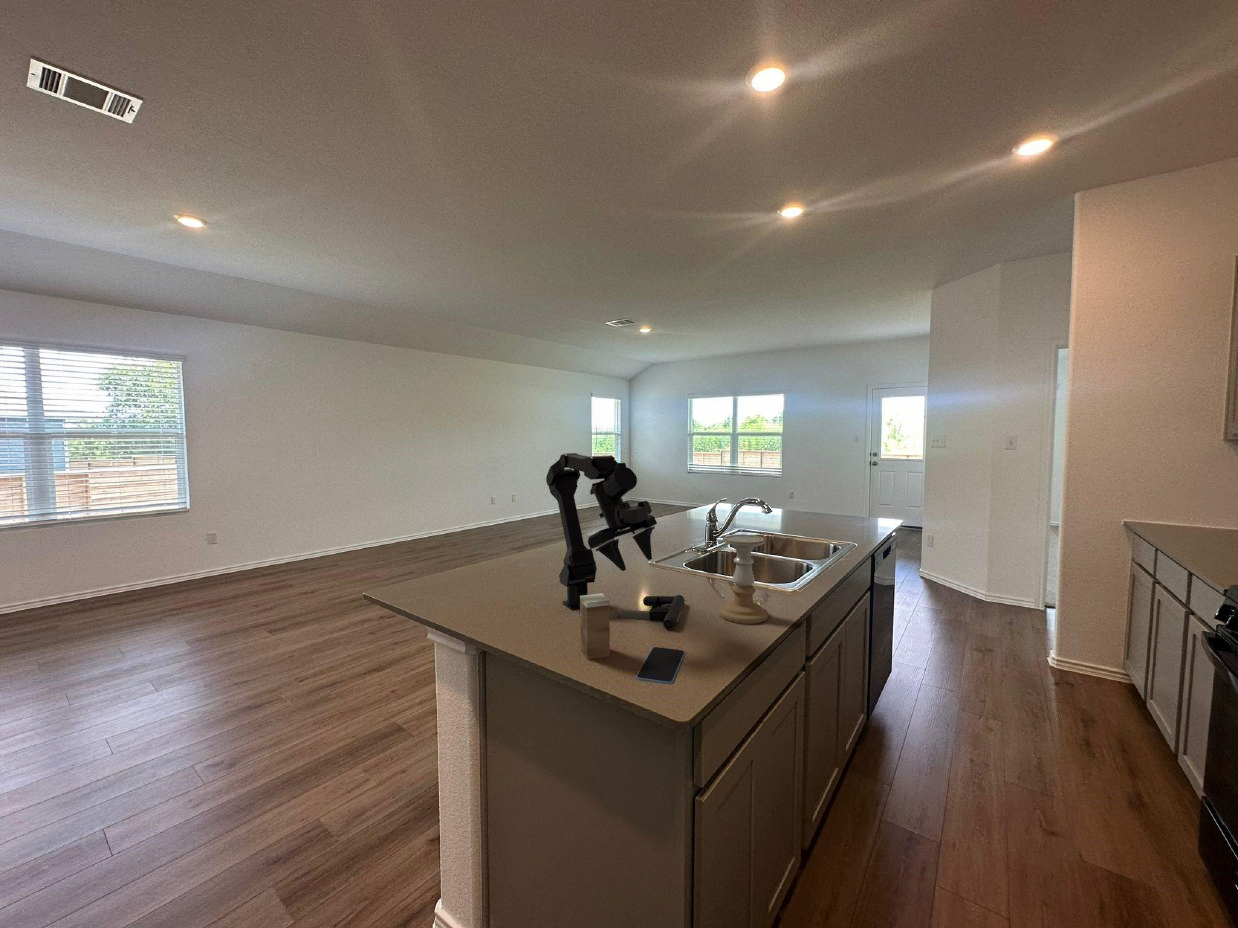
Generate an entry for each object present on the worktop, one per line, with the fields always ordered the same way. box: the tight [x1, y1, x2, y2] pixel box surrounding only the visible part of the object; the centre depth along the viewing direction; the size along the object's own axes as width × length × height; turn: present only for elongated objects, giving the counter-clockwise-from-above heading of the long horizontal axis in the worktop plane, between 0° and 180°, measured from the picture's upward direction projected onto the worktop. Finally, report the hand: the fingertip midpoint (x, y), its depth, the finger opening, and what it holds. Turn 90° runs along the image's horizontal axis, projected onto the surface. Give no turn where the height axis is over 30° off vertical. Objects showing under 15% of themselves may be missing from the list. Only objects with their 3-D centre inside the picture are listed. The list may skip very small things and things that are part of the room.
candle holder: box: [718, 534, 769, 625], centre depth 129 cm, size 12×12×20 cm
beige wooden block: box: [579, 592, 611, 660], centre depth 108 cm, size 5×5×12 cm
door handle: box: [619, 594, 688, 631], centre depth 131 cm, size 3×20×16 cm
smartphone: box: [635, 646, 686, 685], centre depth 102 cm, size 7×1×15 cm
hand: (637, 564), depth 118 cm, fingers open, 9 cm apart
